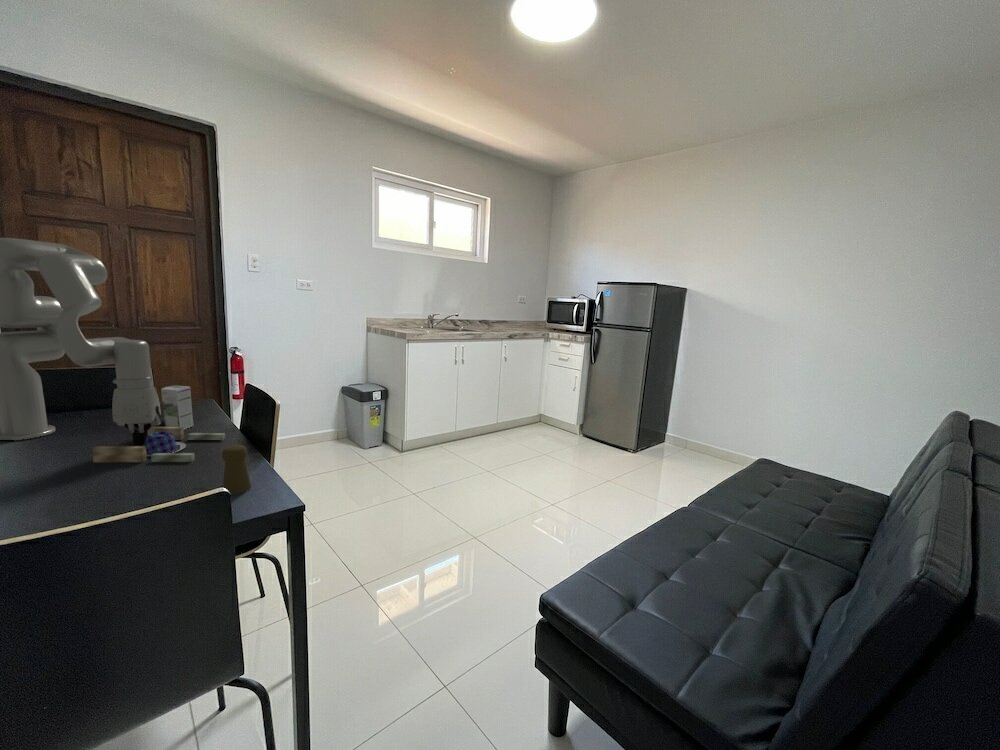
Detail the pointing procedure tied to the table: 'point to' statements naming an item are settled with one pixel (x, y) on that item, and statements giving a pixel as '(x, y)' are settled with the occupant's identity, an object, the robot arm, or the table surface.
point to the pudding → (162, 443)
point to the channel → (141, 456)
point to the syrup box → (177, 406)
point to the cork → (235, 469)
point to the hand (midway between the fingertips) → (141, 444)
